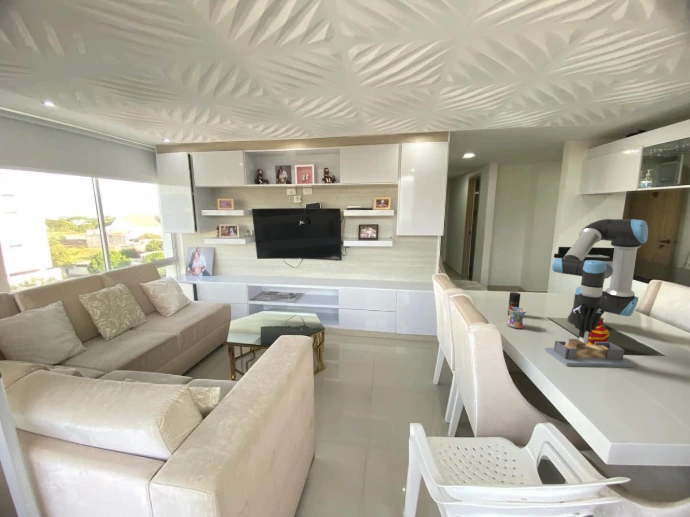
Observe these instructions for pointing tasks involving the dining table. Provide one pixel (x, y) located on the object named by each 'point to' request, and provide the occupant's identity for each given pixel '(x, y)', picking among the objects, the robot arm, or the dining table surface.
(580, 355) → the tan stepped wooden block
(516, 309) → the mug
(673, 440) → the dining table surface
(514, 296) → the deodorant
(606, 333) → the potion bottle
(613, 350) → the grey slat holder base
